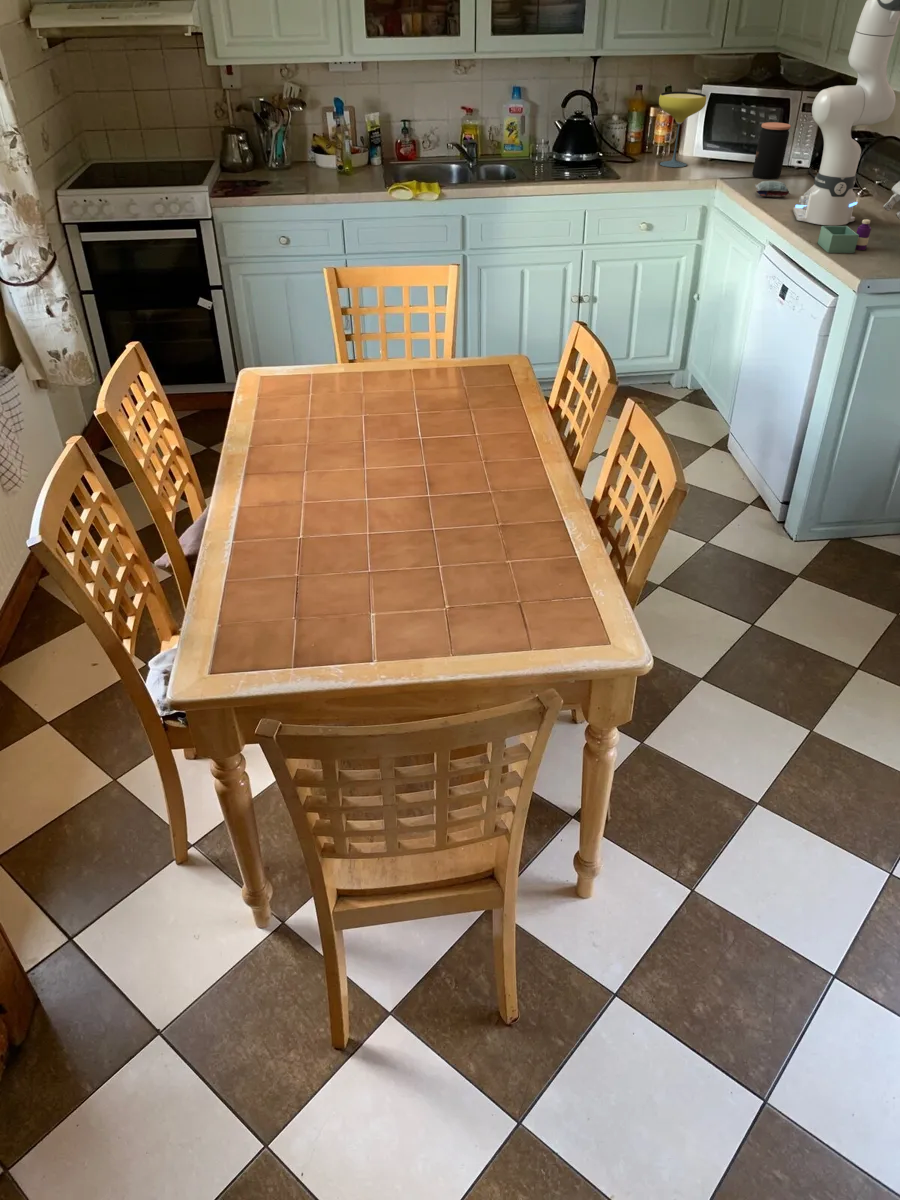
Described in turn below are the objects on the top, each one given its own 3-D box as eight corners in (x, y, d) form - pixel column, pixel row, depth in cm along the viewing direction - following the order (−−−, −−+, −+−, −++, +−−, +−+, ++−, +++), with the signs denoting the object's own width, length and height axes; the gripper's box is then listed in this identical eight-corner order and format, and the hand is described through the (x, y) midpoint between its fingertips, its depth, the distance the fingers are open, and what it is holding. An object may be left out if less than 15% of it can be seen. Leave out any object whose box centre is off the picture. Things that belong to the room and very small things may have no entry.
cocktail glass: (646, 167, 358) (655, 96, 342) (656, 158, 371) (665, 90, 356) (691, 171, 352) (702, 99, 337) (699, 162, 365) (710, 93, 350)
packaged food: (753, 192, 324) (756, 177, 321) (787, 193, 322) (790, 179, 319) (754, 198, 317) (757, 183, 314) (789, 200, 315) (792, 185, 312)
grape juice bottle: (850, 246, 269) (857, 218, 264) (863, 246, 269) (870, 218, 264) (854, 250, 266) (862, 222, 261) (867, 250, 266) (875, 222, 261)
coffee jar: (760, 172, 350) (770, 121, 339) (785, 176, 344) (796, 124, 333) (746, 176, 344) (756, 124, 333) (771, 180, 338) (782, 128, 327)
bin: (817, 243, 272) (821, 225, 269) (842, 243, 272) (847, 226, 268) (828, 252, 264) (832, 235, 261) (854, 252, 264) (859, 235, 261)
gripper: (915, 161, 262) (872, 196, 268) (945, 176, 246) (899, 213, 252) (925, 177, 265) (883, 211, 271) (956, 193, 249) (910, 230, 255)
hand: (891, 212), depth 261 cm, fingers open, 8 cm apart
